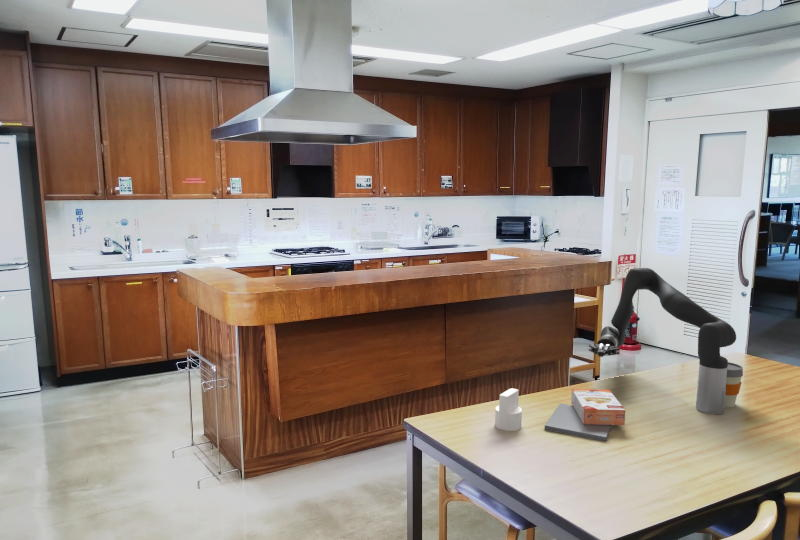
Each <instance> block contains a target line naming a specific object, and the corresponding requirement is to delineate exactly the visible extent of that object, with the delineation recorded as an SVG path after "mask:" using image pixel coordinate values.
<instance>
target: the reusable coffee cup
mask: <svg viewBox="0 0 800 540" xmlns="http://www.w3.org/2000/svg"><path fill="white" fill-rule="evenodd" d="M743 376H744V367H743V366H742V365H739V364H737V363H734V362H730V361H728V367H727V378H726V395H725V406H724V408H734V407H735V404H736V401H737V396H738V395H739V394H740V390H741V385H742V381H741V380H742V378H743Z"/></svg>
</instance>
